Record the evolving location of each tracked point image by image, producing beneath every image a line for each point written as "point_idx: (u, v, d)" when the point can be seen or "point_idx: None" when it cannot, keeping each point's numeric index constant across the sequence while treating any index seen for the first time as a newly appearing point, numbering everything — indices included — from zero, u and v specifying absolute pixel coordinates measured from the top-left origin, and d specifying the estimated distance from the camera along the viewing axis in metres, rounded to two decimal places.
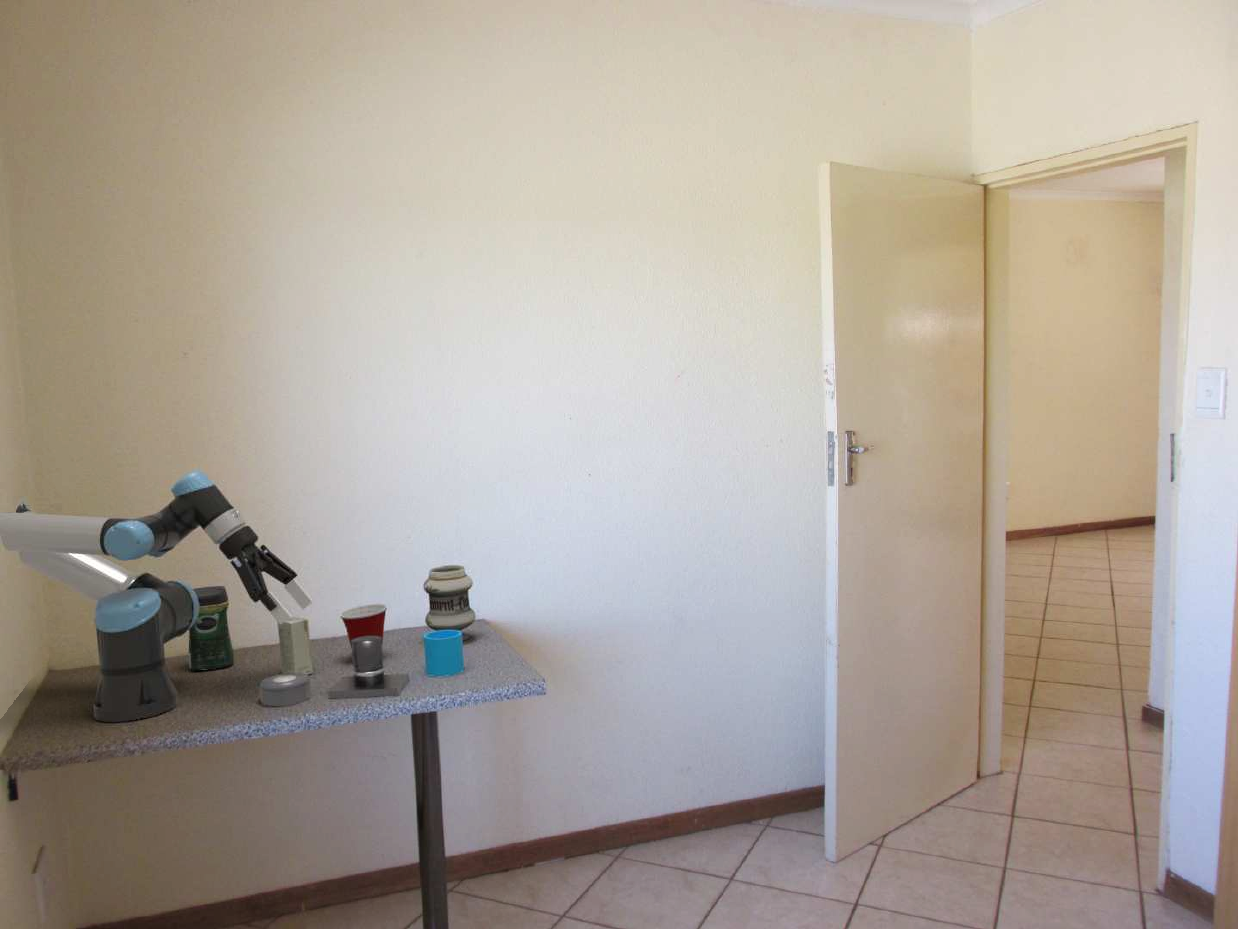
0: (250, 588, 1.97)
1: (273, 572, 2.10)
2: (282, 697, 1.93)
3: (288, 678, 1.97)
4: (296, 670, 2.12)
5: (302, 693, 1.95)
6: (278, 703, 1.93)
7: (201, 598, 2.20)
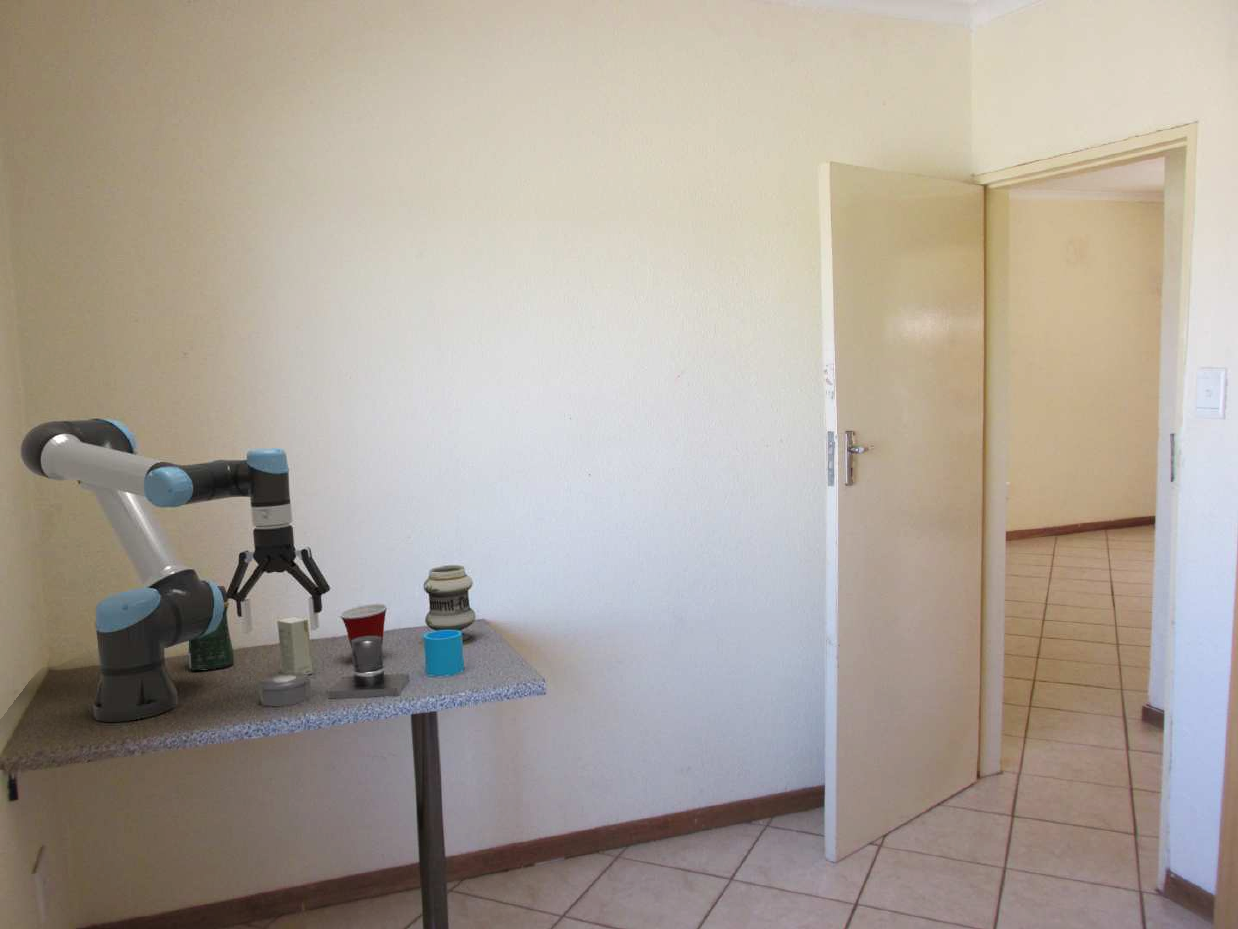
0: None
1: None
2: (282, 697, 1.93)
3: (288, 678, 1.97)
4: (296, 670, 2.12)
5: (302, 693, 1.95)
6: (278, 703, 1.93)
7: None
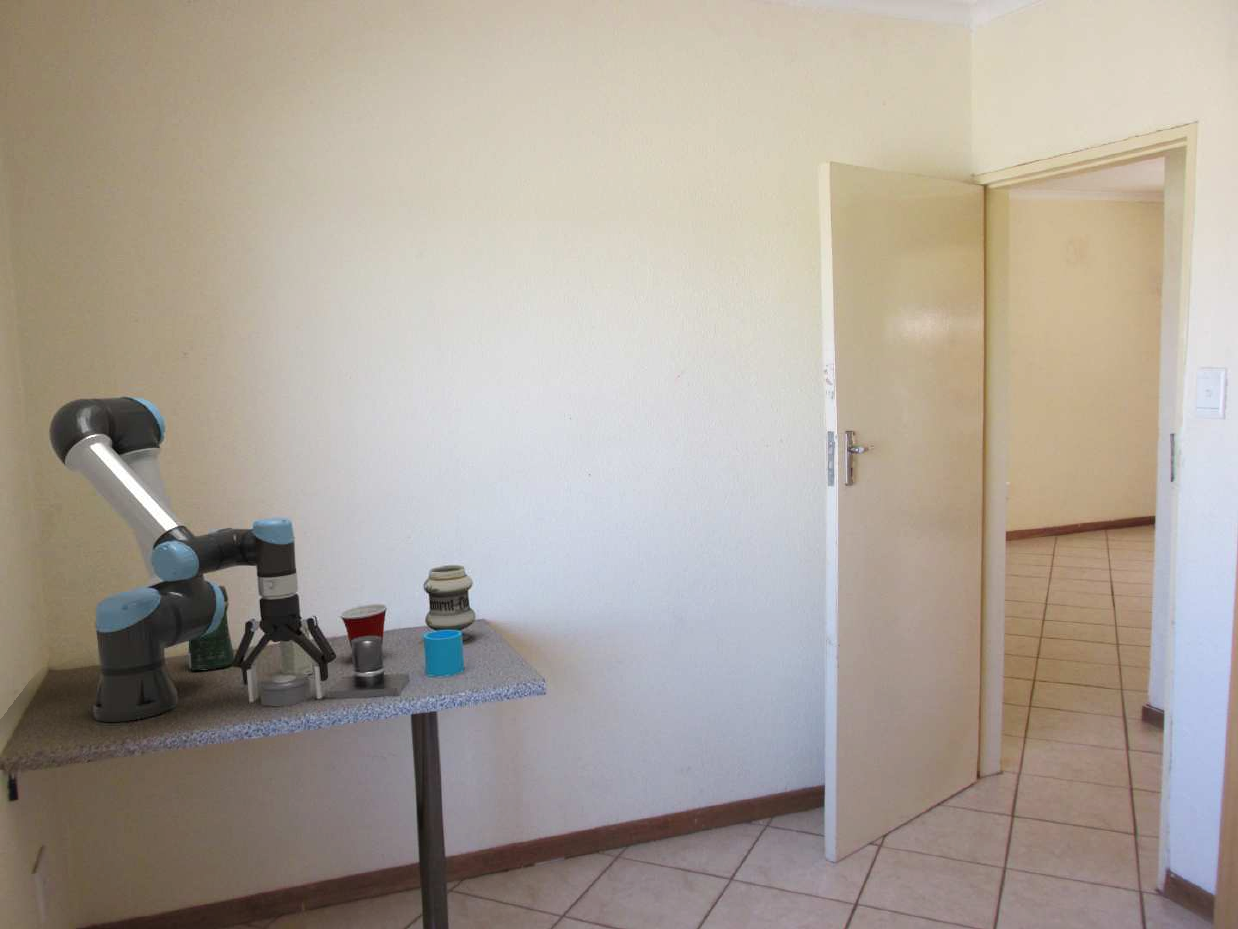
0: None
1: None
2: (282, 697, 1.93)
3: (288, 678, 1.97)
4: (296, 670, 2.12)
5: (302, 693, 1.95)
6: (278, 703, 1.93)
7: None
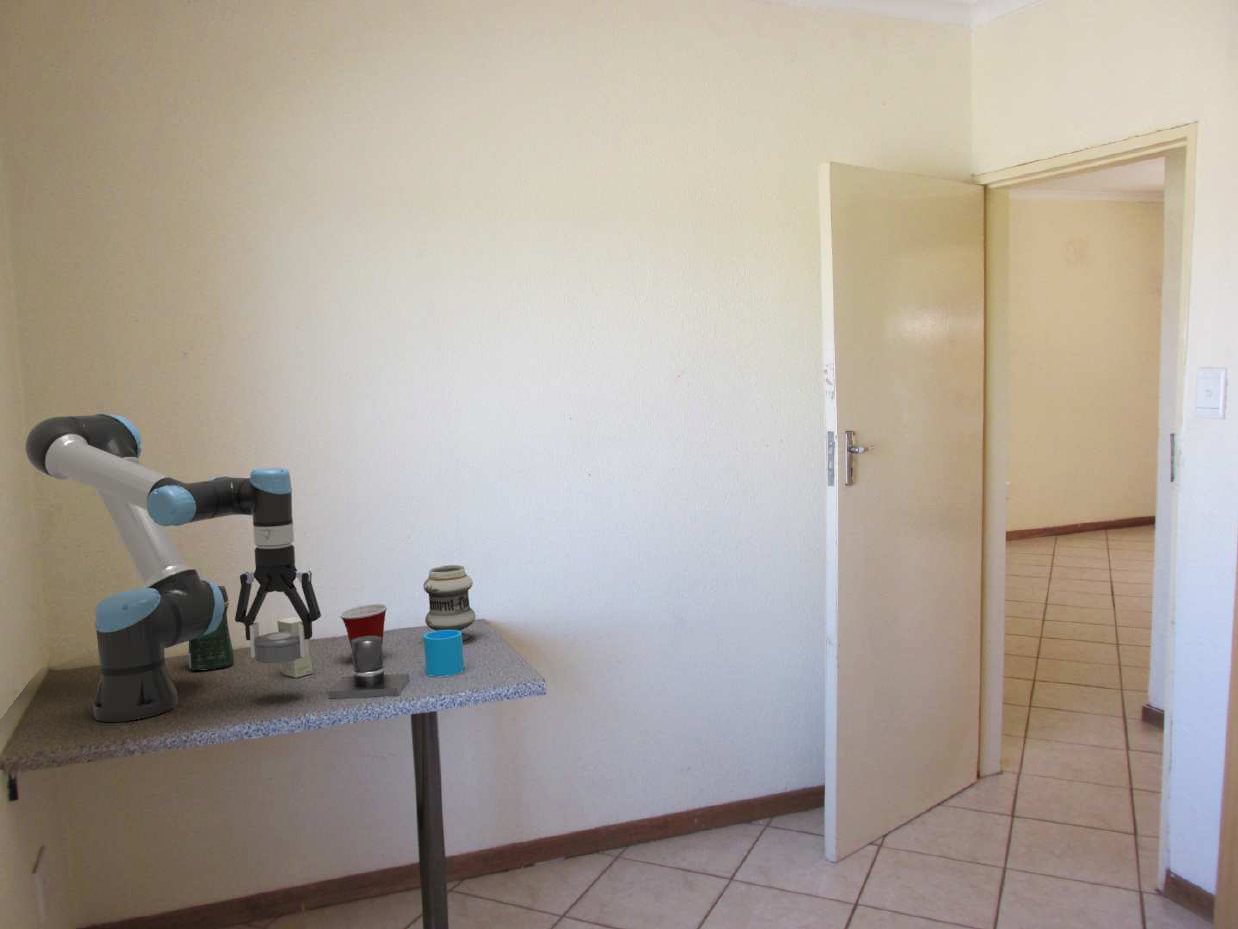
0: None
1: None
2: (276, 654, 1.92)
3: (283, 636, 1.97)
4: (296, 670, 2.12)
5: (296, 651, 1.95)
6: (272, 660, 1.92)
7: None
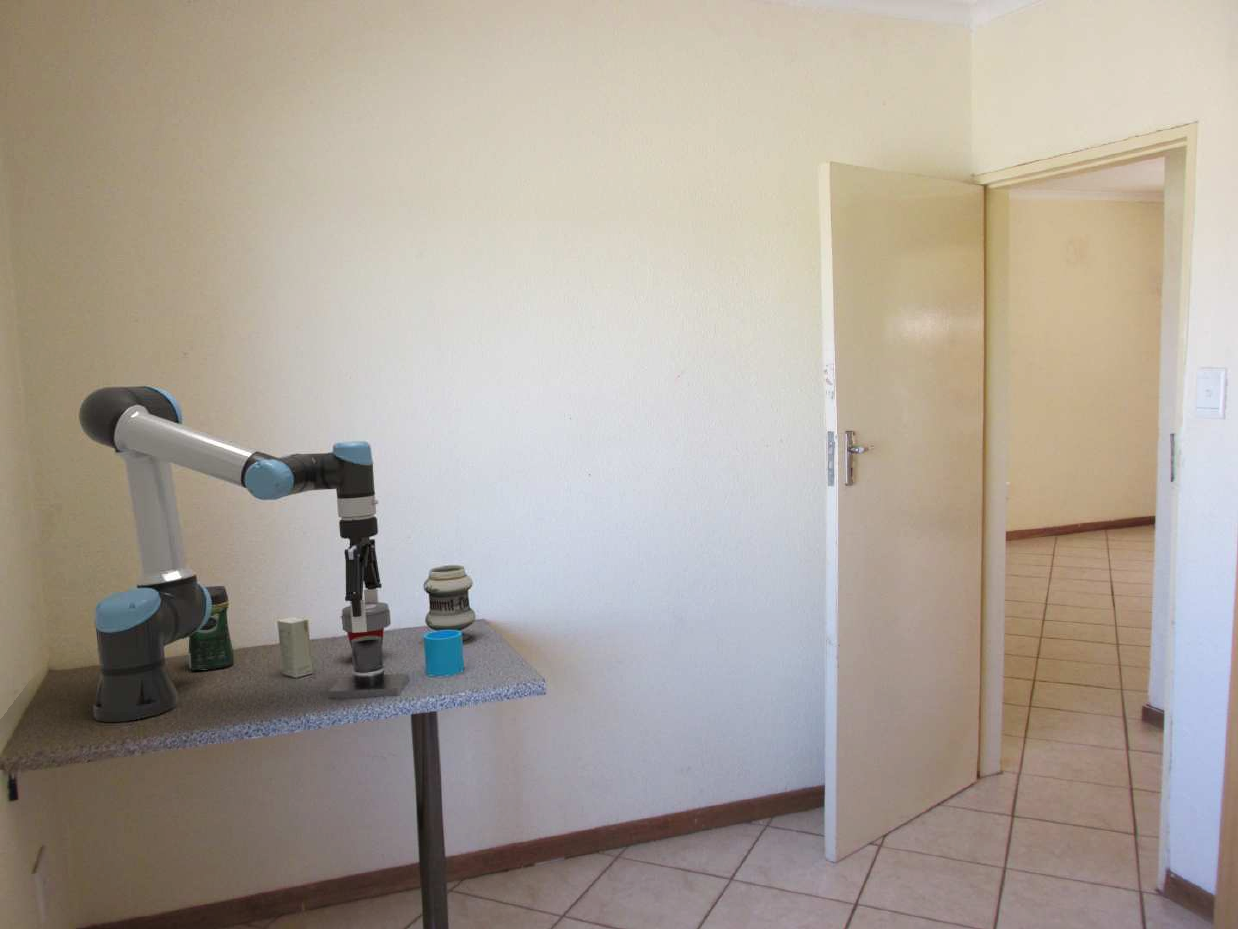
0: (350, 588, 1.91)
1: (365, 570, 2.03)
2: (389, 615, 2.01)
3: (366, 605, 2.01)
4: (296, 670, 2.12)
5: None
6: (389, 622, 2.00)
7: None
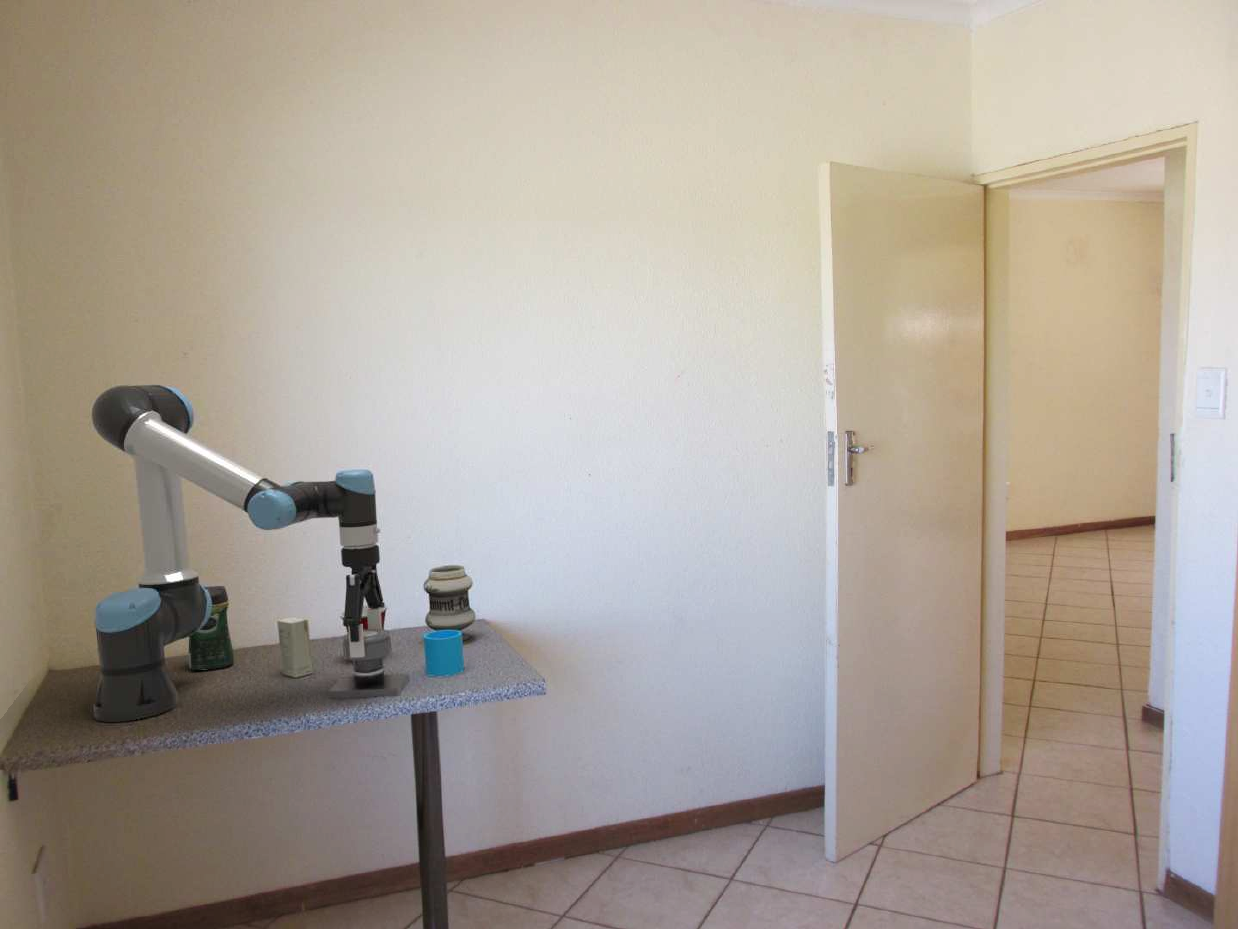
0: (349, 613, 1.90)
1: (368, 594, 2.04)
2: (390, 643, 2.01)
3: (367, 632, 2.01)
4: (296, 670, 2.12)
5: None
6: (390, 649, 2.01)
7: None
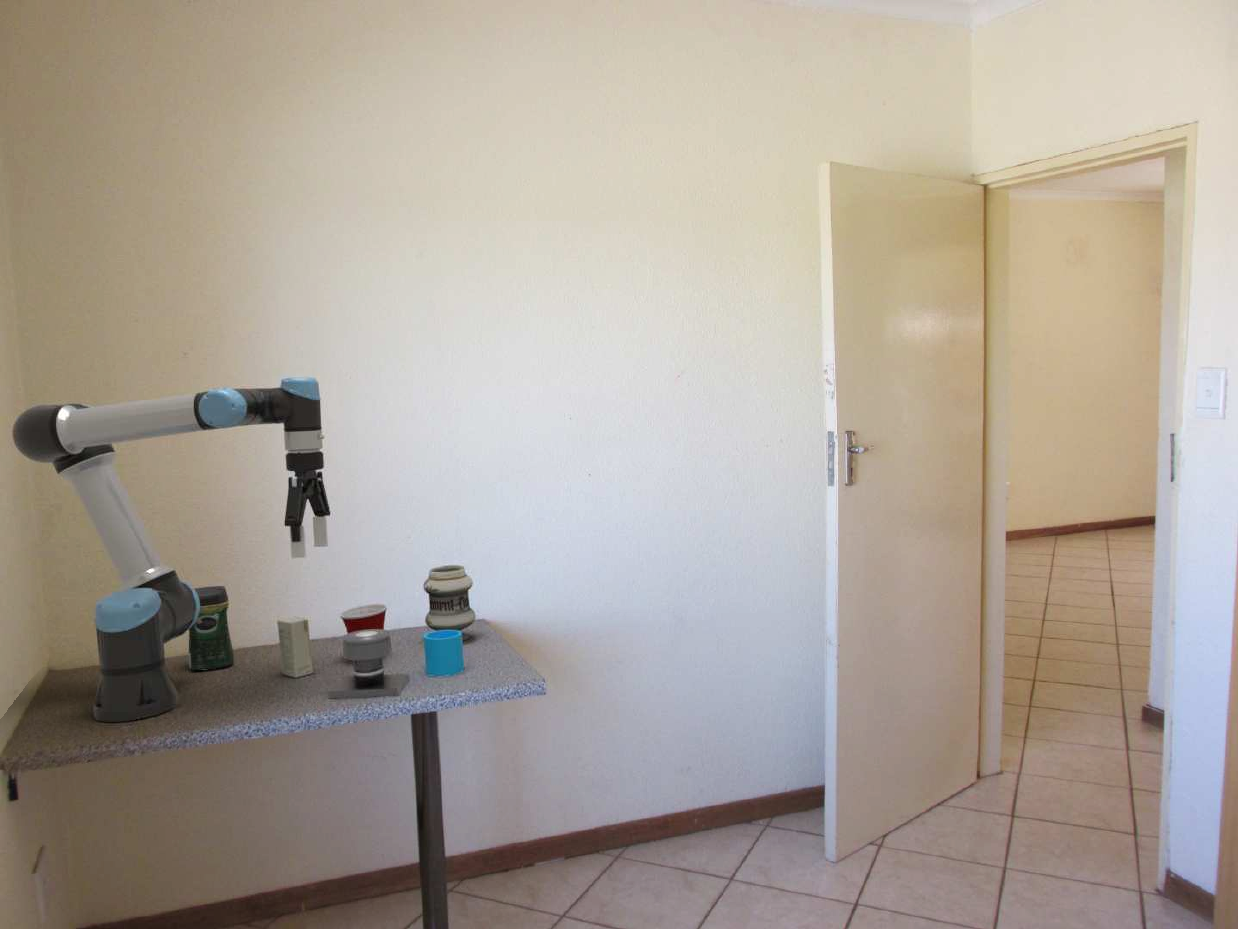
0: (290, 513, 1.96)
1: (313, 501, 2.09)
2: (390, 643, 2.01)
3: (367, 632, 2.01)
4: (296, 670, 2.12)
5: None
6: (390, 649, 2.01)
7: (201, 598, 2.20)
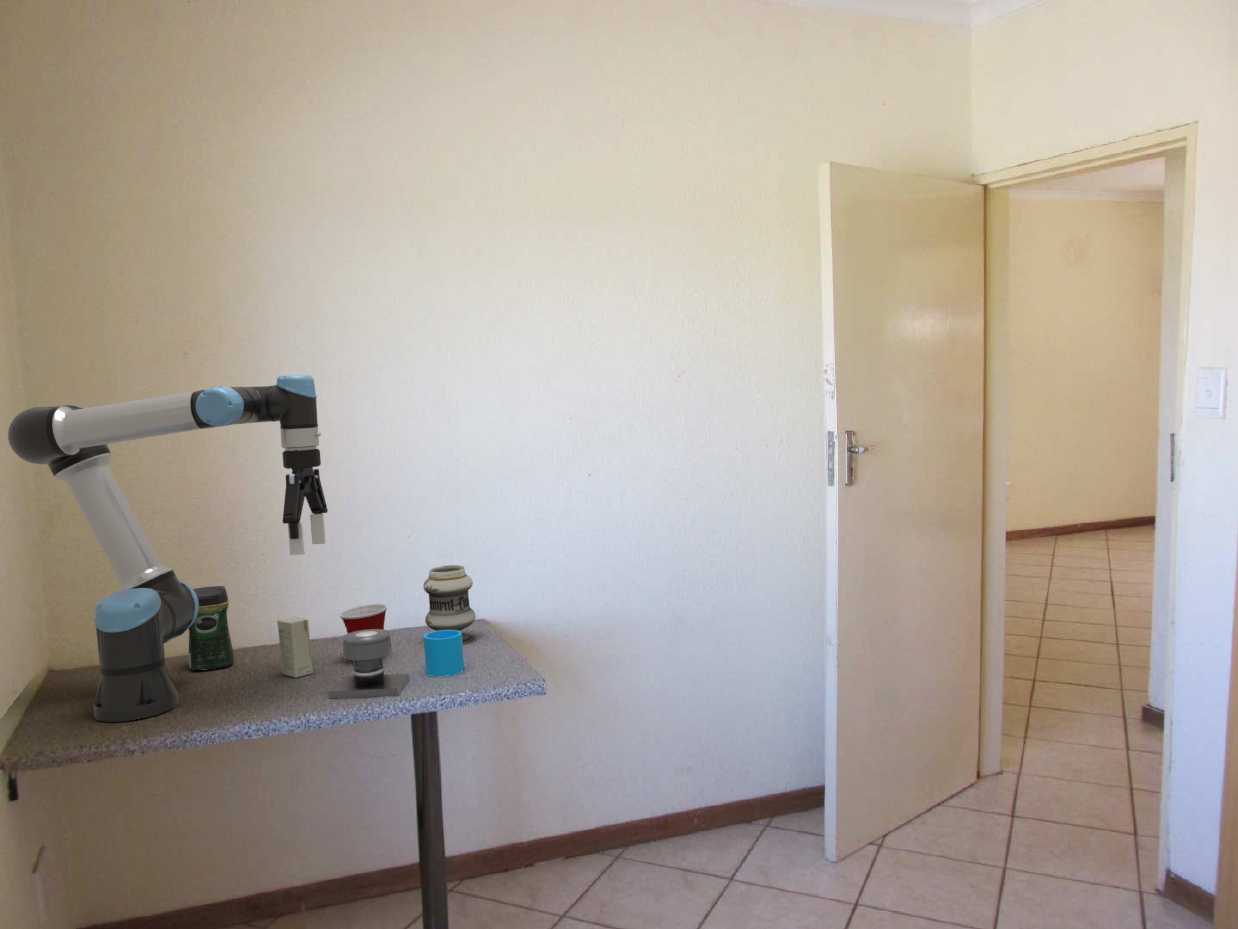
0: (288, 510, 1.96)
1: (310, 498, 2.10)
2: (390, 643, 2.01)
3: (367, 632, 2.01)
4: (296, 670, 2.12)
5: None
6: (390, 649, 2.01)
7: (201, 598, 2.20)
